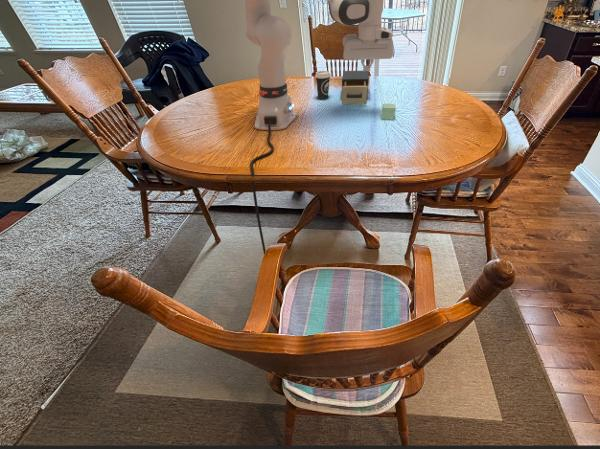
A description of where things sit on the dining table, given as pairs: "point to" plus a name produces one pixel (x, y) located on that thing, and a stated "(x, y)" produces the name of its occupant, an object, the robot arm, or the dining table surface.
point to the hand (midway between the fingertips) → (366, 70)
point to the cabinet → (355, 77)
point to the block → (388, 111)
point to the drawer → (354, 92)
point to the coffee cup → (322, 84)
